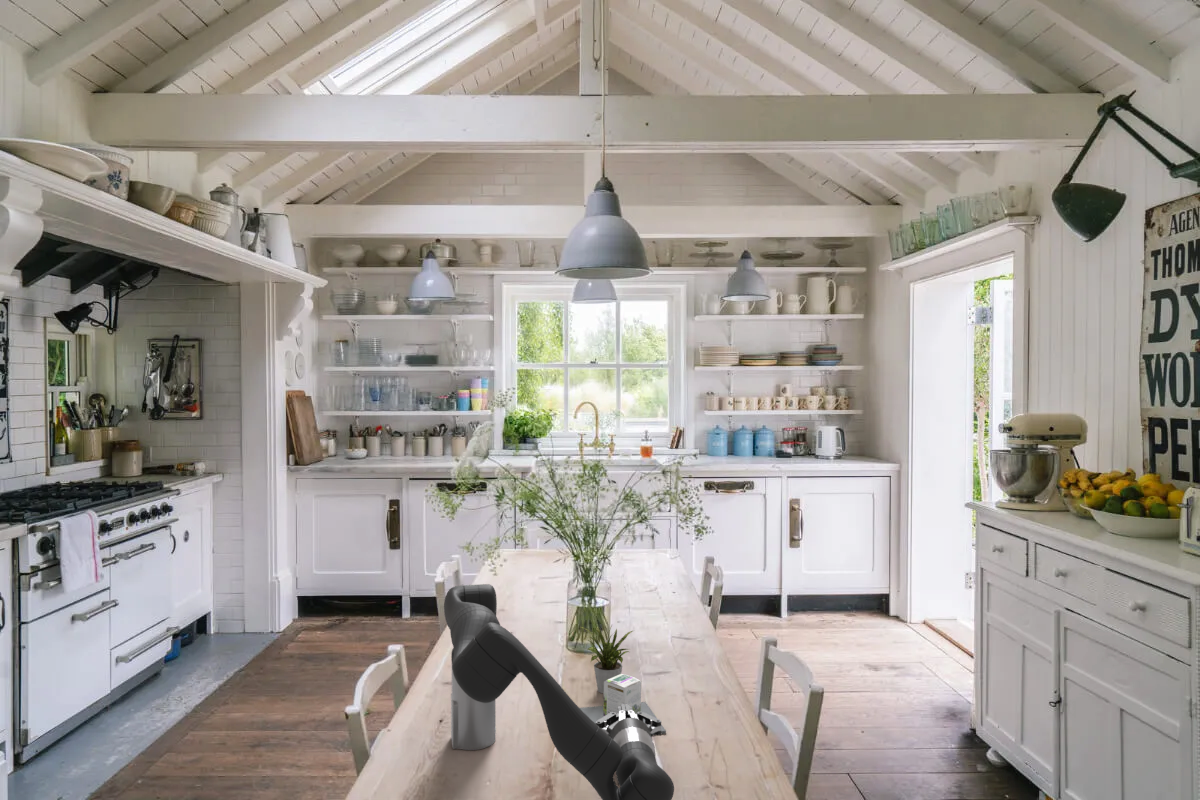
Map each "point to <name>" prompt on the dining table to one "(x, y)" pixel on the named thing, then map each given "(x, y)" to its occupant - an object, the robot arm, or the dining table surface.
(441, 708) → the dining table surface
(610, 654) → the house plant
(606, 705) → the syrup box
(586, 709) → the rubber mat
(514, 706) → the dining table surface
